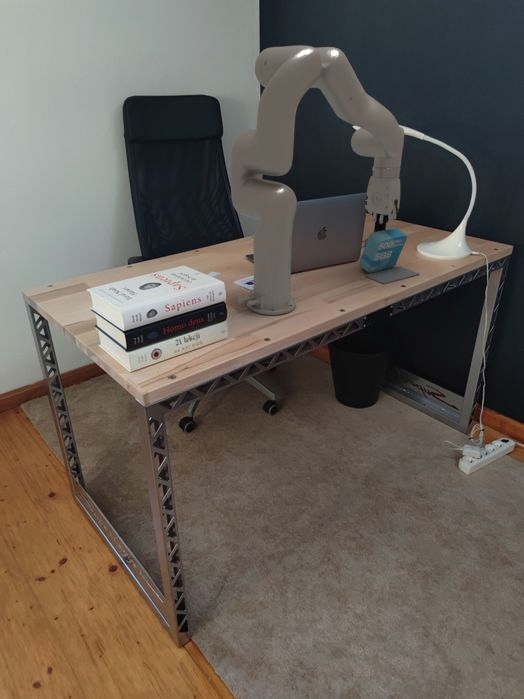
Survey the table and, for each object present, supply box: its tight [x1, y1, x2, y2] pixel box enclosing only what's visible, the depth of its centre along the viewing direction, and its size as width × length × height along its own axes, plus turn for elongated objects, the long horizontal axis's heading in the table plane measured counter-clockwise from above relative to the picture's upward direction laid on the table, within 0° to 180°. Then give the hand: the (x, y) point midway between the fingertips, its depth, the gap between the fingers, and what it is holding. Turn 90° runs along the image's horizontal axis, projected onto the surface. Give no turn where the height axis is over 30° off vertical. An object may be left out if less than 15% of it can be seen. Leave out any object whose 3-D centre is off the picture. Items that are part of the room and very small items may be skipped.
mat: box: [364, 266, 420, 286], centre depth 154 cm, size 15×8×1 cm, turn 122°
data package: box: [358, 227, 408, 274], centre depth 155 cm, size 12×4×12 cm, turn 122°
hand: (379, 235), depth 155 cm, fingers closed
